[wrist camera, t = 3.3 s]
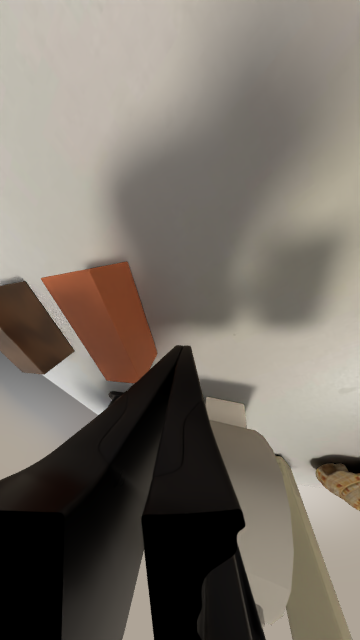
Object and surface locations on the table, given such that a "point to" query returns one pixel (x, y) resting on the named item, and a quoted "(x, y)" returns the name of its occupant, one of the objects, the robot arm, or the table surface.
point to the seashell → (340, 482)
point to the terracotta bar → (107, 319)
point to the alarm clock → (257, 507)
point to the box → (309, 577)
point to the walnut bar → (29, 331)
